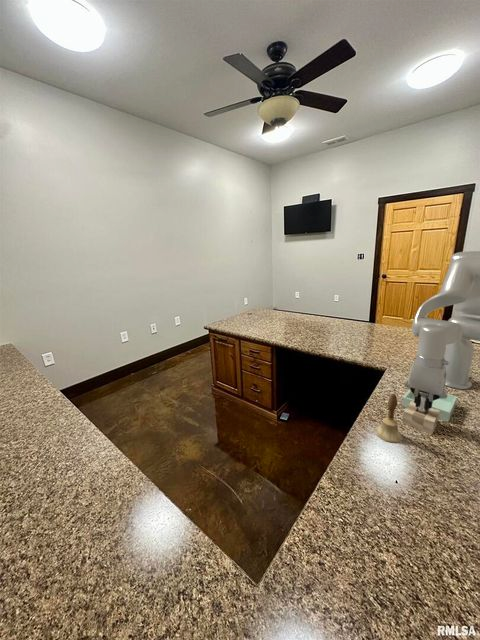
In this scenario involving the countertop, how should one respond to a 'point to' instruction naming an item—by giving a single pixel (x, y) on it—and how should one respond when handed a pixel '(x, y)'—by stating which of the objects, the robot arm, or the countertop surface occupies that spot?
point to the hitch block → (421, 418)
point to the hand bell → (389, 424)
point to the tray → (435, 404)
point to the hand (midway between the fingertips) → (422, 406)
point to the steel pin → (422, 401)
